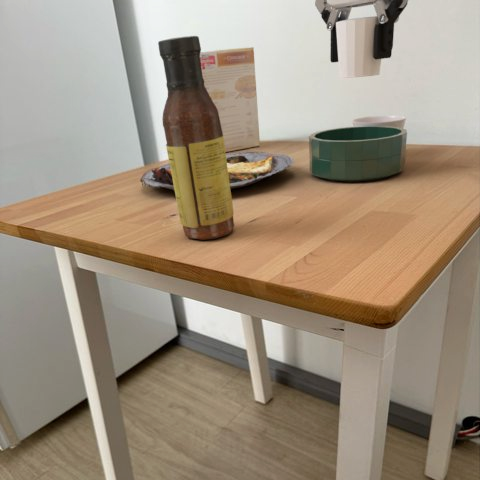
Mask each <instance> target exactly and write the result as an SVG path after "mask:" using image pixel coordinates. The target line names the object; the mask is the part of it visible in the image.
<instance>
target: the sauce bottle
mask: <svg viewBox="0 0 480 480" xmlns="http://www.w3.org/2000/svg"><path fill="white" fill-rule="evenodd" d="M157 45H158V51H159V56H160V58H161V60H162V62H163V68H164V75H165V79H166V80H165V81H166V83H165V84H166V89H167V97H166V101H165V104H164V107H163V108H164V109H163V111H162V117H161V118H162V120H161V121H162V128H163V132H164V137H165V141H166V144H165V148H166V152H167V157H168V164H170V168H171V174H172V179H173V184H174V190H175V191H174V190H173V191H174V194H175V195H174V196H175V199H176V205H177V211H178V212H177V213H178V216H179V222H180V224H181V226H182V229H183V233H184V235H185V237H187V238H188V239H189V240H190V239H191V240H200V241H207V240H215V239H219V238H222V237H225V236H227V235H229V234H230V233H232V232H233V230H234V228H235V222H234V221H235V220H234V213H235V212H234V206H233V205H234V204H233V197H232V192H231V190H232V189H230V183H229V176H228V168H227V161H226V153H227V152H225V146H224V138H223V132H222V128H221V123H220V119H219V114H218V110H217V108H216V106H215V104H214V103H213V101H212V99H211V97H210V96H209V94H208V92H207V90H206V88H205V86H204V79H203V76H202V68H201V61H200V52H202V47H201V43H200V38H199V36H198V35H190V36H189V35H187V36H179V37H178V36H177V37H171V38H167V39H161V40H159V41H158V43H157Z"/></svg>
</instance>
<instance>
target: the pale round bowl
mask: <svg viewBox="0 0 480 480" xmlns="http://www.w3.org/2000/svg"><path fill="white" fill-rule="evenodd" d="M406 119H407V117H406V116H404V115H395V114H394V115H393V114H391V115H386V114H385V115H372V116H362V117H357V118H354V119H352V127H358V126H391V127H399V128H403V129H405V124H406V121H407V120H406Z"/></svg>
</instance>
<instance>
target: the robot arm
mask: <svg viewBox="0 0 480 480" xmlns="http://www.w3.org/2000/svg"><path fill="white" fill-rule="evenodd" d="M408 2H409V0H315V1H314V6H315V8H316V9H317V11H318V12H319V14H320V16H321V19H322V20H323V22H324V23H325V25H326V30H327V31H328V32H330V56H329V57H330V59H329V60H330V63H338V48H337V33H336V22H339V21H342V20H347V19H349V17H350V14H351V12H352V9H353V8H361V7H366V6H372V5H373V7H374V10H375V13H376V16H377V17H378V20H379V24H378V25H375V29H374V50H373V58H374V59H381V60H383V59H391V57H392V52H393V51H392V50H393V47H394V34H395V33H394V32H395V24H396V23H398V21H399V20H400V16H401V14H402V13H403V11H404V10H405V9H406V7H407V6H408Z"/></svg>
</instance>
